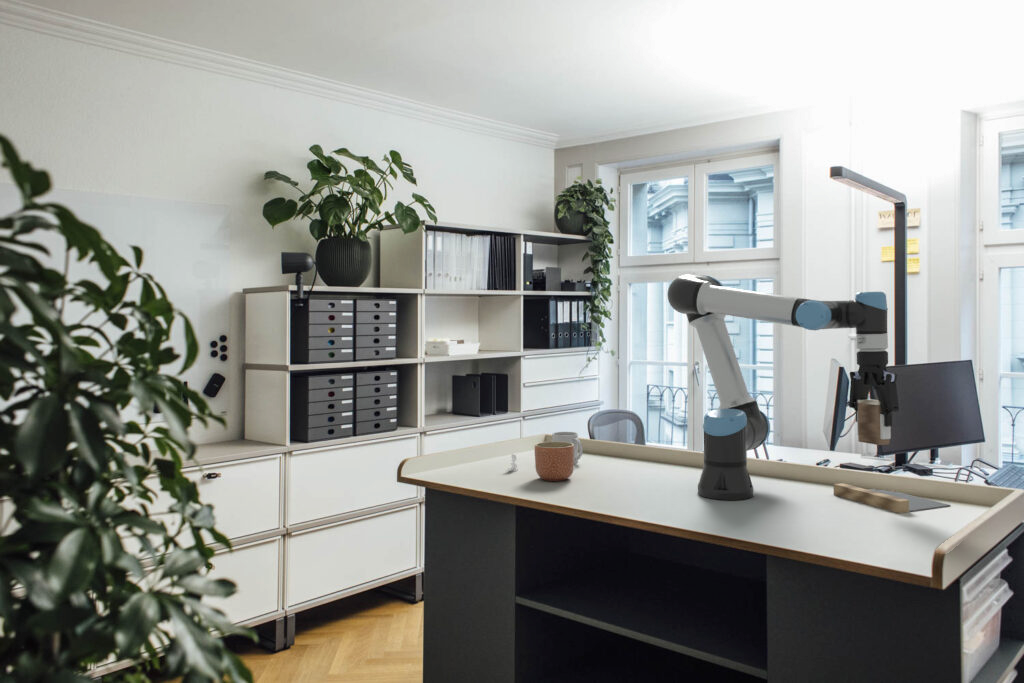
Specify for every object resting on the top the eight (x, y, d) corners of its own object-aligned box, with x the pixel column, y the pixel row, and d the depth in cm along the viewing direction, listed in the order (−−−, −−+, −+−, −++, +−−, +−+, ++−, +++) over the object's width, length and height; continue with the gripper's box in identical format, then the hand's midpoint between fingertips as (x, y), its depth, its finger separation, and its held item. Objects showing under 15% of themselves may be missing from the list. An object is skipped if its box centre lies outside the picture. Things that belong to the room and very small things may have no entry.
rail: (833, 494, 211) (833, 484, 211) (842, 493, 212) (842, 483, 212) (899, 513, 190) (899, 501, 190) (908, 512, 191) (908, 500, 191)
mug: (550, 460, 269) (550, 432, 269) (577, 459, 270) (576, 431, 270) (555, 466, 258) (555, 436, 258) (583, 465, 259) (582, 435, 259)
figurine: (508, 475, 246) (508, 456, 246) (497, 471, 253) (496, 453, 253) (529, 472, 250) (529, 454, 250) (517, 468, 257) (517, 450, 257)
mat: (843, 493, 212) (843, 492, 212) (881, 488, 217) (881, 487, 217) (910, 511, 192) (910, 510, 192) (950, 506, 197) (950, 504, 197)
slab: (858, 441, 203) (857, 399, 203) (868, 440, 204) (867, 399, 204) (879, 445, 197) (878, 402, 196) (889, 444, 198) (888, 401, 198)
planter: (569, 484, 229) (568, 448, 229) (529, 482, 233) (529, 446, 233) (578, 476, 241) (578, 441, 241) (541, 474, 245) (540, 440, 245)
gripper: (832, 350, 208) (834, 433, 209) (891, 351, 189) (893, 443, 190) (854, 349, 211) (856, 431, 211) (914, 350, 192) (916, 440, 192)
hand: (873, 436), depth 201 cm, fingers closed on slab, 7 cm apart
